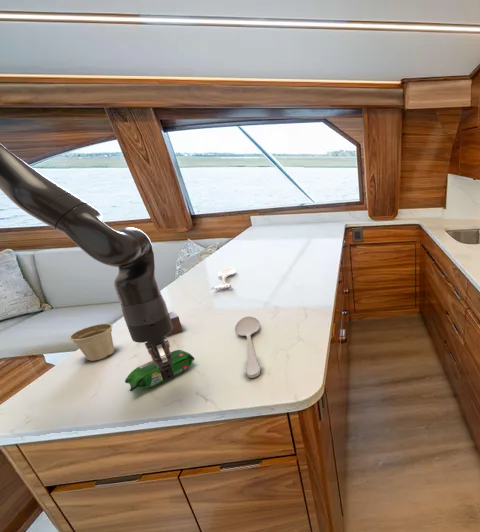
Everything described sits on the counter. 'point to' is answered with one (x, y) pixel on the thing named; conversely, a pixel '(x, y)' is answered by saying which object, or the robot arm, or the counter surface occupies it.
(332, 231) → the counter surface
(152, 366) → the snack package
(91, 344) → the flower pot
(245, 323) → the spoon
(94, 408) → the counter surface
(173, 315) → the walnut block
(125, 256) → the robot arm
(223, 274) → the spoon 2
